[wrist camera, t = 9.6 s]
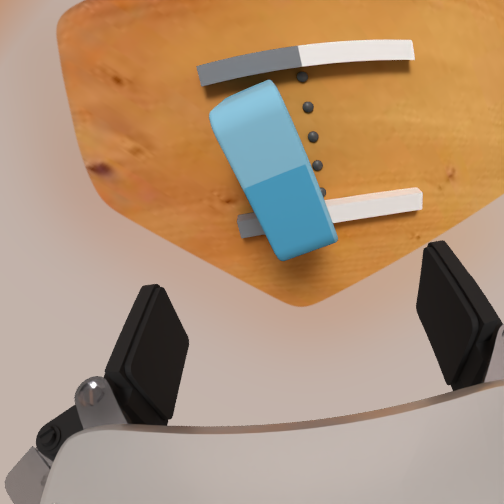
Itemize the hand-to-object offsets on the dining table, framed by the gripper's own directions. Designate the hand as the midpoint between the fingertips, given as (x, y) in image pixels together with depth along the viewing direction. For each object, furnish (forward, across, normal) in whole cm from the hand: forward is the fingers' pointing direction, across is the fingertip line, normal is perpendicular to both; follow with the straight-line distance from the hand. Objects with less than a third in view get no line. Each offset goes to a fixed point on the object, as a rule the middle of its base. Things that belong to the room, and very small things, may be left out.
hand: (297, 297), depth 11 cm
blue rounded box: (+22, 0, 0) cm, 23 cm away
